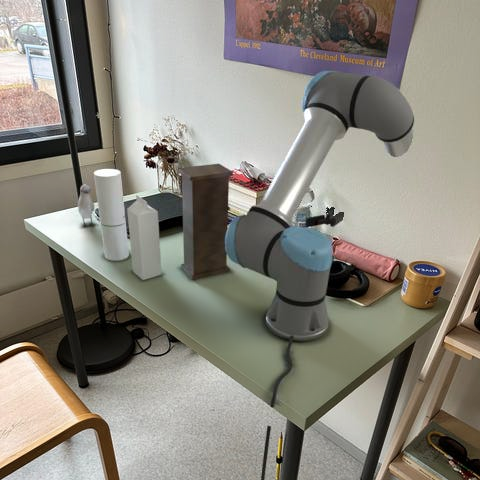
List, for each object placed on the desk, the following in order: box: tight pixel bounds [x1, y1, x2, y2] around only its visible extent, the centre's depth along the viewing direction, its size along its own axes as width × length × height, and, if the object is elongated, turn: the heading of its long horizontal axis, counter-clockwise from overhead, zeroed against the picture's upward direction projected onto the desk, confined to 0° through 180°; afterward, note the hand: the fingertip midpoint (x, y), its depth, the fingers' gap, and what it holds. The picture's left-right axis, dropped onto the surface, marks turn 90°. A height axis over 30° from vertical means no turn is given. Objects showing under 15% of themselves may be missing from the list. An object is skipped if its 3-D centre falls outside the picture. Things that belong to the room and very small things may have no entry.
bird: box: [77, 183, 96, 228], centre depth 156 cm, size 5×14×15 cm, turn 29°
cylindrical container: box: [93, 168, 130, 262], centre depth 136 cm, size 7×7×25 cm
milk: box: [126, 195, 162, 281], centre depth 128 cm, size 6×6×22 cm
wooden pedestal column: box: [177, 163, 234, 281], centre depth 129 cm, size 12×8×29 cm, turn 119°
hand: (292, 214), depth 143 cm, fingers open, 13 cm apart
